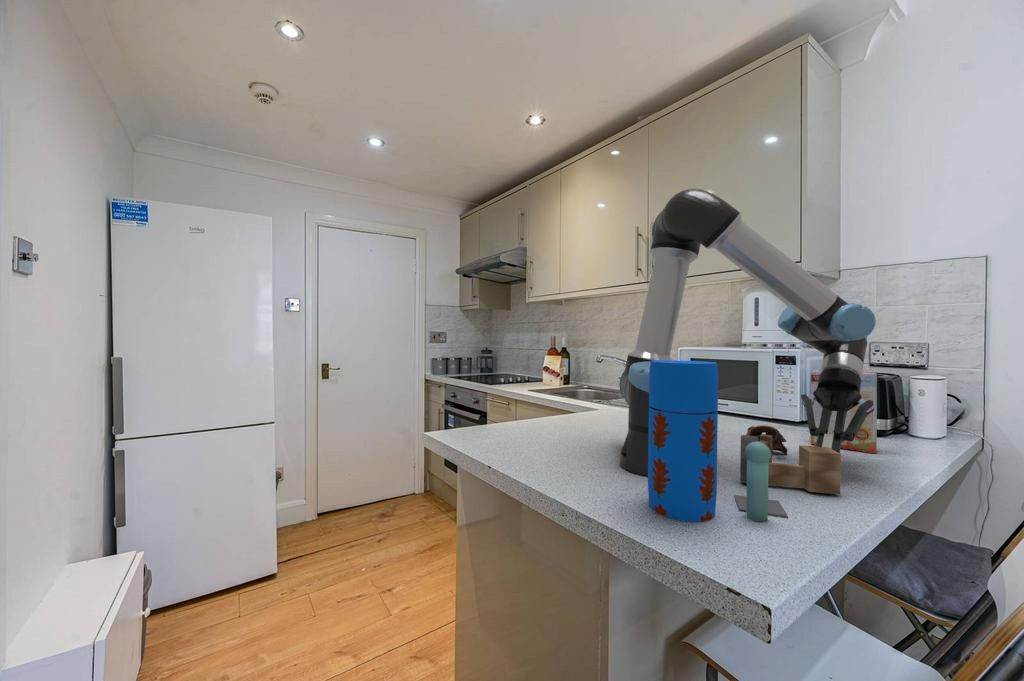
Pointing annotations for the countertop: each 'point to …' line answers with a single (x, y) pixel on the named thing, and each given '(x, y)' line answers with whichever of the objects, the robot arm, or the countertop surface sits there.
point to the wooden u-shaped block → (801, 469)
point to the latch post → (757, 481)
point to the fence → (767, 443)
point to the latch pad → (773, 506)
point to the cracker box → (868, 430)
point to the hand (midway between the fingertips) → (825, 464)
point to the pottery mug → (769, 430)
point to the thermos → (683, 439)
